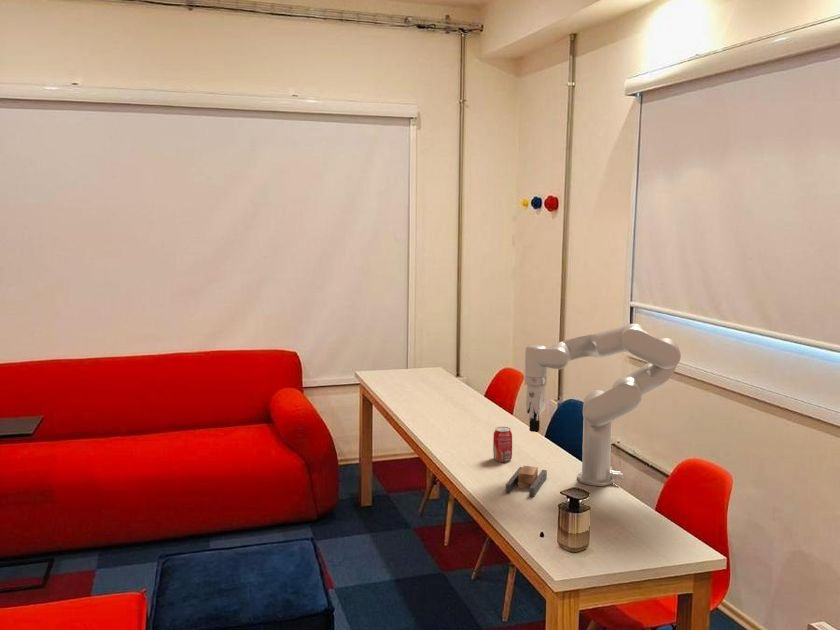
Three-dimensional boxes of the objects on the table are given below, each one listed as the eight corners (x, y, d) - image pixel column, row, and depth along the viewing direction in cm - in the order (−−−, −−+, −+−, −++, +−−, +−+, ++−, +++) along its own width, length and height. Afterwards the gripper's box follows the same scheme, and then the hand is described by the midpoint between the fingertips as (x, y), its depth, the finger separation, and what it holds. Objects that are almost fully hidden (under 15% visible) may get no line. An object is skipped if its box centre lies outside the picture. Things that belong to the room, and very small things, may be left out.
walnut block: (537, 480, 261) (537, 467, 260) (533, 489, 253) (533, 474, 252) (523, 479, 262) (523, 465, 262) (518, 487, 255) (518, 473, 254)
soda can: (500, 455, 287) (500, 425, 285) (515, 459, 282) (516, 428, 280) (489, 460, 281) (489, 429, 279) (505, 464, 277) (505, 433, 275)
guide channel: (546, 478, 262) (546, 470, 262) (533, 497, 246) (534, 488, 245) (519, 474, 266) (520, 466, 266) (505, 493, 250) (505, 484, 249)
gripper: (541, 386, 253) (539, 438, 255) (551, 376, 266) (549, 426, 269) (519, 384, 255) (518, 436, 258) (530, 374, 269) (529, 424, 272)
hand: (534, 431), depth 264 cm, fingers closed
